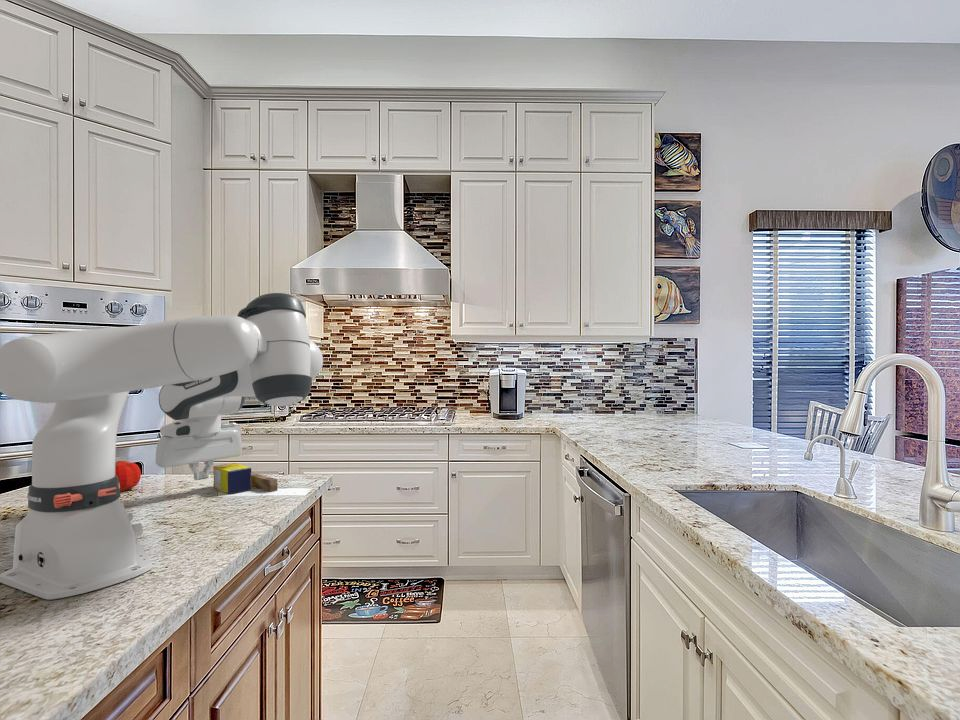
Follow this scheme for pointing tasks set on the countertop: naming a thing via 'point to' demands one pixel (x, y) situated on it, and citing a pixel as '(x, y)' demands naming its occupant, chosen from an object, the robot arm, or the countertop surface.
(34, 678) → the countertop surface
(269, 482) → the walnut rail
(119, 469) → the tomato
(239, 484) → the supplement box
